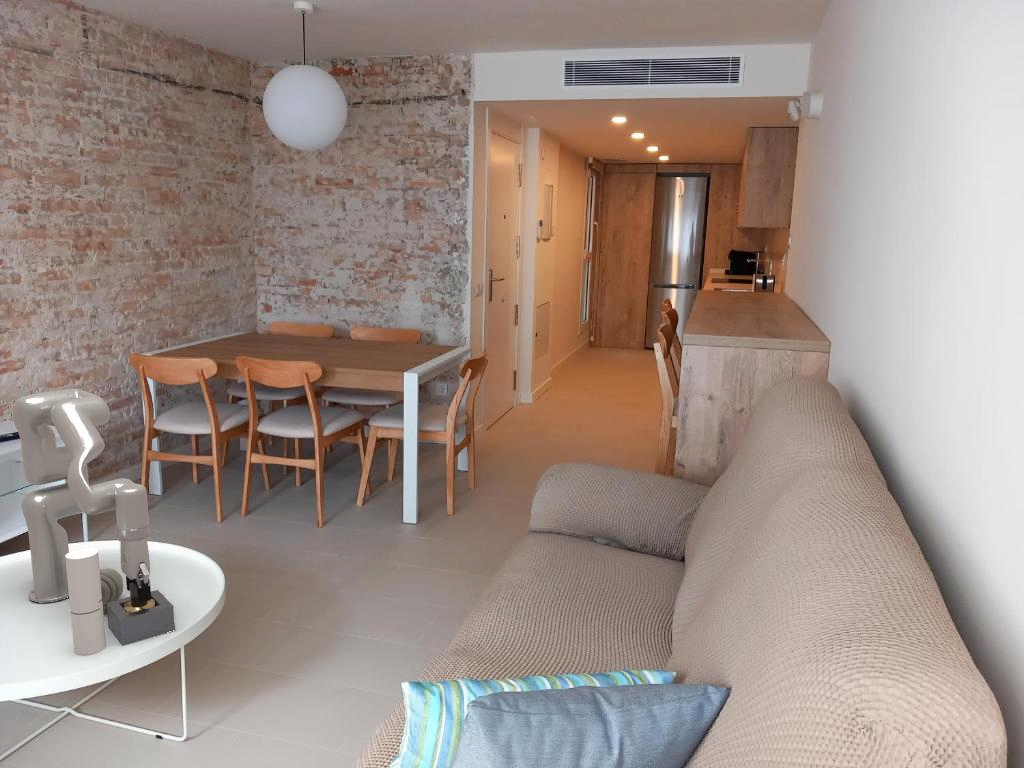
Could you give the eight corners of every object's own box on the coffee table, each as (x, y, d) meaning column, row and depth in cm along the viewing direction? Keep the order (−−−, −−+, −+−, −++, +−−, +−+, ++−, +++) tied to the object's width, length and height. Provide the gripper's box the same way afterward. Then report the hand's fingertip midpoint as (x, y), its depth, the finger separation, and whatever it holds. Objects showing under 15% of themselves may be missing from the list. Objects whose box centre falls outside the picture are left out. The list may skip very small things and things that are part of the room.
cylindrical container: (111, 641, 210) (103, 548, 205) (98, 655, 202) (89, 558, 198) (82, 642, 209) (74, 548, 205) (68, 655, 202) (59, 559, 198)
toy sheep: (70, 622, 220) (67, 583, 219) (97, 595, 237) (94, 559, 235) (111, 620, 221) (108, 581, 219) (135, 594, 238) (132, 558, 236)
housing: (108, 627, 217) (106, 602, 216) (159, 613, 225) (157, 589, 224) (122, 645, 207) (119, 619, 206) (174, 630, 215) (173, 605, 214)
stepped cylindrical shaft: (122, 624, 217) (118, 581, 215) (151, 616, 221) (148, 574, 219) (130, 634, 211) (126, 590, 209) (160, 626, 216) (157, 583, 214)
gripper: (109, 526, 216) (114, 588, 219) (128, 544, 203) (133, 610, 206) (139, 520, 221) (144, 581, 224) (159, 537, 208) (164, 601, 210)
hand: (139, 595), depth 215 cm, fingers open, 9 cm apart
